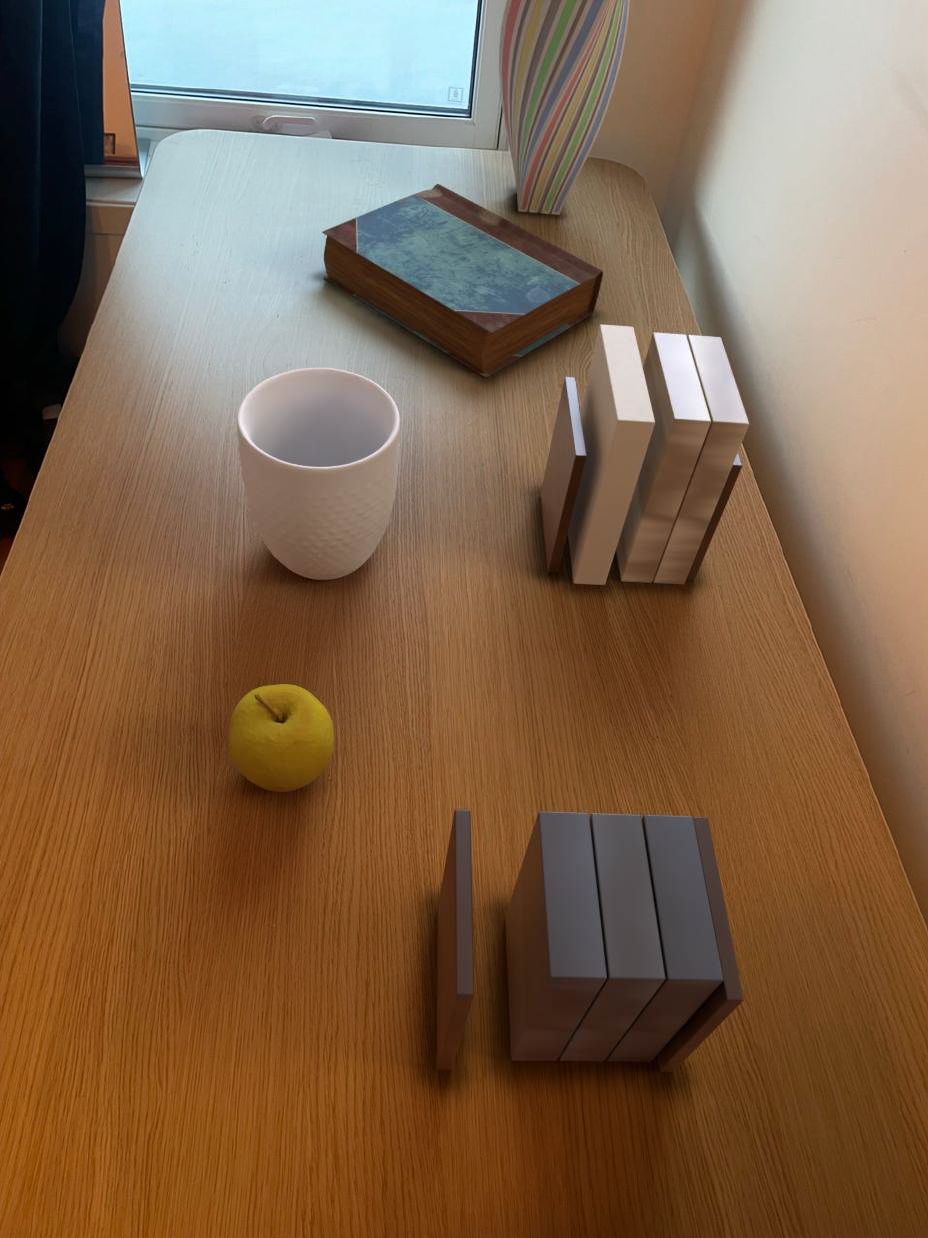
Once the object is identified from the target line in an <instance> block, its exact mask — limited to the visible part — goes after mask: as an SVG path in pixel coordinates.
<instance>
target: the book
mask: <svg viewBox="0 0 928 1238" xmlns="http://www.w3.org/2000/svg"><path fill="white" fill-rule="evenodd" d="M321 233H322V234H323V235H325V236H326V238H325V243H324V244H325V245H324V249H323V263H324V268H325V273H326V274H324V275H323V278H324V279H325V280H327V281H329V282H330V283H332V284H333V285H335V286H336V287H338V288H340V289H341V290H343V291H345V292H346V293H348V294H350V295H351V296H353V297H354V298H356V299H358V300H359V301H361V302H362V303H364V304H366V306H369V308H372V309H373V310H375V311H377V312H378V313H380V314H382V315H383V316H385V317H386V318H388V319H390V320H392V321H393V322H394V323H396V324H398V325H399V326H401V327H403V328H404V329H406V330H407V331H409V332H411V333H412V334H414V335H415V336H417V337H419V338H420V339H422V340H423V341H425V342H426V343H429V344H430V345H431V346H433V347H435V348H437V350H440V351H441V352H443V353H445V354H446V355H448V356H449V357H450V358H453V359H454V360H456V361H457V362H458V363H461V364H462V365H464V366H465V367H467V368H469V369H470V370H472V371H473V372H475V373H476V374H478V375H480V376H482V377H483V378H489V377H490V376H492V375H494V374H495V373H497V372H499V371H501V370H502V369H504V368H505V367H507V366H509V365H510V364H512V363H514V362H515V361H517V360H519V359H520V358H522V357H524V356H525V355H527V354H529V353H530V352H532V351H534V350H535V349H537V348H539V347H540V346H542V345H544V344H546V343H547V342H548V341H550V340H552V339H553V338H556V337H557V336H558V335H560V334H562V333H563V332H565V331H567V330H569V329H570V328H572V327H574V326H575V325H576V324H578V323H580V322H581V321H583V320H584V319H585V318H587V317H589V316H592V315H593V314H594V311H595V308H596V305H597V303H598V302H597V301H598V298H599V295H600V290H601V286H602V281H603V276H604V271H603V270H602V269H600V268H598V267H596V266H595V265H594V264H591V263H589V262H587V261H585V260H583V259H582V258H579V257H577V256H575V255H574V254H572V253H570V252H568V251H566V250H564V249H563V248H560V247H559V246H557V245H555V244H553V243H551V242H549V241H548V240H545V239H544V238H541V237H540V236H538V235H536V234H534V233H532V232H530V231H528V230H527V229H525V228H523V227H521V226H519V225H517V224H516V223H513V222H511V221H509V220H507V219H506V218H504V217H502V216H500V215H498V214H496V213H494V212H493V211H491V210H488V209H486V207H483V206H481V205H479V204H477V203H475V202H474V201H472V200H470V199H468V198H466V197H464V196H463V195H460V194H459V193H456V192H455V191H453V190H451V189H449V188H448V187H445V186H443V185H441V184H440V183H436V184H435V185H434V186H433V187H432V188H431V189H426V190H422V191H419V192H416V193H413V194H410V195H408V196H406V197H403V198H401V199H397V200H395V201H393V202H390V203H387V204H385V205H383V206H380V207H378V208H375V209H372V210H370V211H368V212H365V213H363V214H361V215H359V216H356V217H354V218H351V219H349V220H347V221H344V222H342V223H340V224H337V225H334V226H333V227H330V228H327V229H326V230H323V231H322V232H321Z"/></svg>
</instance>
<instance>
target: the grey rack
mask: <svg viewBox="0 0 928 1238" xmlns="http://www.w3.org/2000/svg"><path fill="white" fill-rule="evenodd" d="M452 816H453V817H452V824H451V828H450V835H449V840H448V845H447V852H446V857H445V862H444V867H443V874H442V880H441V885H440V891H439V897H438V902H437V929H436V930H437V936H436V937H437V940H436V941H437V942H436V943H437V944H436V945H437V946H436V948H437V949H436V951H437V952H436V956H437V957H436V958H437V959H436V961H437V965H436V966H437V967H436V970H437V971H436V1070H439V1071H443V1070H444V1071H445V1070H446V1071H450V1070H452V1069H453V1066H454V1062H455V1059H456V1056H457V1054H458V1049H459V1047H460V1046H459V1045H460V1043H461V1040H462V1036H463V1034H464V1030H465V1026H466V1022H467V1020H468V1017H469V1013H470V1010H471V1006H472V1003H473V1001H474V996H475V967H474V966H475V964H474V963H475V961H474V915H473V914H474V913H473V912H474V910H473V908H474V907H473V868H472V867H473V866H472V864H473V863H472V861H473V860H472V859H473V858H472V820H471V819H472V815H471V809H460V808H459V809H454V811H453V815H452ZM710 826H711V825H710V822H709V818H708V817H707V816H706V817H705V816H692V815H668V814H667V815H665V814H664V815H663V814H642V815H641V814H636V813H635V814H634V813H633V814H632V813H630V814H629V813H606V812H605V813H603V812H602V813H600V812H599V813H598V812H592V813H591V814H590V813H589V812H574V811H573V812H572V811H571V812H569V811H544V810H542V811H541V810H540V811H538V813H537V816H536V819H535V822H534V825H533V828H532V831H531V834H530V838H529V839H528V840H529V841H528V844H527V847H526V850H525V853H524V856H523V859H522V863H521V866H520V869H519V872H518V874H517V878H516V881H515V885H514V888H513V891H512V894H511V897H510V900H509V903H508V907H507V909H506V913H505V916H504V923H505V924H504V926H505V948H506V949H505V951H506V971H507V973H506V974H507V992H508V995H507V996H508V1016H509V1017H508V1019H509V1020H508V1021H509V1039H510V1040H509V1041H510V1042H509V1043H510V1059H511V1061H521V1062H522V1061H524V1062H525V1061H531V1062H534V1061H535V1062H557V1061H558V1060H559V1061H560V1062H605V1061H606V1062H612V1063H613V1062H617V1063H619V1062H622V1063H625V1062H627V1063H628V1062H629V1063H632V1062H633V1063H652V1061H653V1060H654V1059H655V1058H656V1057H657V1065H658V1071H659V1072H660V1073H673V1072H675V1071H676V1070H677V1069H678V1068H679V1067H680V1066H681V1065H682V1064H683V1063H684V1061H686V1060H687V1059H688V1057H690V1056H691V1055H692V1054H693V1052H694V1051H695V1050H696V1049H698V1048H699V1047H700V1045H702V1044H703V1043H704V1041H705V1040H706V1039H708V1038H709V1037H710V1035H712V1033H713V1032H714V1031H715V1030H716V1029H718V1027H719V1026H720V1025H721V1024H722V1023H723V1022H724V1021H725V1020H726V1019H727V1018H728V1017H729V1016H730V1015H731V1014H732V1013H733V1012H734V1011H735V1010H736V1009H737V1008H738V1007H739V1006H740V1005H741V1004H742V1003H743V1002H744V1000H745V997H744V993H743V992H744V991H743V988H742V982H741V977H740V973H739V968H738V963H737V958H736V952H735V946H734V943H733V936H732V932H731V928H730V923H729V917H728V913H727V907H726V902H725V897H724V892H723V887H722V881H721V877H720V871H719V867H718V861H717V856H716V851H715V847H714V842H713V837H712V831H711V827H710Z"/></svg>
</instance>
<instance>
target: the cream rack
mask: <svg viewBox="0 0 928 1238" xmlns="http://www.w3.org/2000/svg"><path fill="white" fill-rule="evenodd" d="M642 367H643V371H644V376H645V380H646V385H647V389H648V394H649V398H650V402H651V407H652V411H653V416H654V420H655V424H654V428H653V431H652V434H651V437H650V441H649V444H648V447H647V450H646V454H645V457H644V460H643V463H642V466H641V470H640V473H639V476H638V479H637V483H636V486H635V489H634V492H633V496H632V499H631V502H630V505H629V509H628V512H627V515H626V518H625V521H624V525H623V528H622V531H621V534H620V538H619V541H618V544H617V547H616V551H615V553H616V559H617V564H618V570H619V577H620V581H621V582H626V583H627V582H628V583H647V584H651V583H654V584H663V585H664V584H667V585H685V583H686V581H696V578H697V575H698V573H699V571H700V569H701V566H702V565H703V561H704V559H705V557H706V554H707V552H708V550H709V547H710V544H711V542H712V540H713V538H714V535H715V533H716V531H717V528H718V526H719V523H720V521H721V518H722V516H723V514H724V512H725V510H726V507H727V505H728V502H729V500H730V497H731V495H732V492H733V490H734V487H735V486H736V483H737V481H738V478H739V476H740V473H741V471H742V468H743V463H742V459H741V456H740V453H739V451H740V448H741V446H742V443H743V441H744V439H745V436H746V434H747V431H748V429H749V426H750V422H749V418H748V415H747V413H746V409H745V405H744V403H743V400H742V397H741V394H740V391H739V387H738V384H737V382H736V379H735V376H734V372H733V370H732V369H733V368H732V366H731V363H730V360H729V357H728V353H727V351H726V348H725V345H724V342H723V339H722V337H720V336H711V335H698V334H697V335H695V334H688V335H687V334H682V333H669V332H658V331H657V332H656V331H655V332H652V335H651V339H650V341H649V344H648V348H647V352H646V356H645V358H644V363H643V365H642ZM580 409H581V406H580V401H579V395H578V387H577V380H576V377H575V376H573V377H572V376H565V377H564V380H563V383H562V388H561V394H560V398H559V403H558V408H557V413H556V417H555V422H554V427H553V432H552V437H551V442H550V447H549V450H548V455H547V461H546V465H545V470H544V475H543V480H542V484H541V489H540V494H539V497H540V507H541V516H542V526H543V527H542V528H543V536H544V537H543V538H544V548H545V558H546V568H547V569H546V570H547V574H558V573H559V569H560V565H561V561H562V557H563V553H564V549H565V545H566V542H567V539H568V530H569V526H570V522H571V518H572V514H573V510H574V506H575V502H576V498H577V494H578V490H579V486H580V482H581V478H582V474H583V470H584V466H585V462H586V458H587V454H586V447H585V440H584V434H583V427H582V420H581V413H580Z"/></svg>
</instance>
